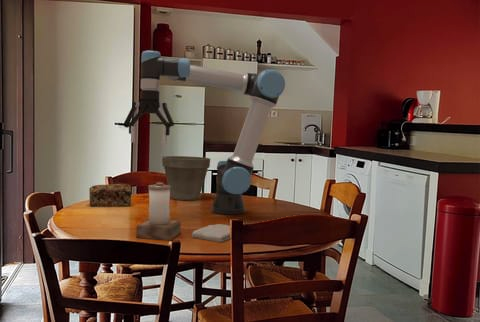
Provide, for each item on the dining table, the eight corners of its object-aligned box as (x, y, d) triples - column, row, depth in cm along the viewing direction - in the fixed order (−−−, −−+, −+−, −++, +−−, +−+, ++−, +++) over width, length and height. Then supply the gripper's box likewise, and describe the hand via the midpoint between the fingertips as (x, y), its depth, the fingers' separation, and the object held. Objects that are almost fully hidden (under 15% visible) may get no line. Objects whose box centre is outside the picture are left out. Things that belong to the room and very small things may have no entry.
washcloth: (245, 234, 173) (245, 225, 173) (221, 244, 157) (221, 235, 157) (217, 229, 179) (217, 221, 178) (191, 239, 163) (191, 230, 163)
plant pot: (185, 193, 265) (187, 154, 263) (218, 199, 249) (220, 158, 248) (151, 197, 245) (152, 156, 244) (184, 204, 230) (185, 159, 228)
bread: (130, 203, 227) (131, 182, 226) (131, 207, 217) (131, 185, 216) (89, 203, 222) (90, 182, 221) (88, 207, 212) (89, 185, 211)
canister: (172, 221, 168) (173, 182, 167) (166, 225, 160) (166, 184, 159) (152, 220, 169) (153, 181, 168) (145, 224, 161) (145, 183, 160)
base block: (180, 232, 170) (180, 220, 170) (170, 240, 158) (171, 227, 158) (148, 230, 171) (148, 218, 171) (136, 237, 160) (136, 225, 159)
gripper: (182, 91, 192) (181, 143, 194) (124, 90, 196) (123, 141, 197) (177, 90, 185) (176, 144, 187) (116, 88, 188) (115, 141, 190)
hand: (148, 142), depth 192 cm, fingers open, 13 cm apart
